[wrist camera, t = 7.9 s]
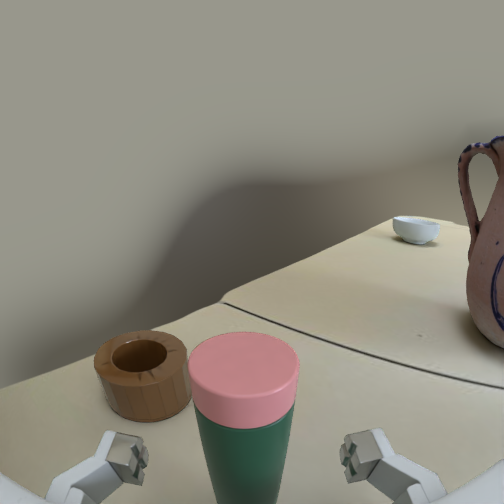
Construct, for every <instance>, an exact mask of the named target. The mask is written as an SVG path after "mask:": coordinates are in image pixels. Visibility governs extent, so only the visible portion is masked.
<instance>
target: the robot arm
mask: <svg viewBox="0 0 504 504" xmlns="http://www.w3.org/2000/svg"><path fill="white" fill-rule="evenodd" d="M344 442H345V443H344V444H343V445H341V448H340V460H341V464H342V465H344V466H345V467H346V469H345V471H344V473H345V476H346V479H347V482H348V484H349V483H353V482H358V481H362V480H366V479H367V481H368V482H369V483H371V484H372V485H373V486H374V487H376V488H377V489H378V490H380V491H381V492H382V493H384V494H385V495H386V496H388V497H389V498H390V499H392V500H393V501H394V502H393V503H392V504H504V459H502V460H500V461H498V462H497V463H495V464H494V465H493V466H491V467H490V468H489V469H487V470H486V471H484V472H483V473H481V474H480V475H478V476H477V477H475V478H474V479H472V480H471V481H469V482H468V483H466V484H464V485H463V486H461V487H459V488H458V489H456V490H454V491H452V492H451V493H449V494H447V492H446V490H445V488H444V486H443V484H442V482H441V481H440V479H439V477H438V475H437V474H436V473H434V472H432V471H430V470H428V469H426V468H424V467H422V466H420V465H418V464H417V463H415V462H413V461H411V460H409V459H407V458H405V457H404V456H402V455H400V454H395V453H394V451H393V449H392V447H391V445H390V443H389V441H388V439H387V437H386V435H385V433H384V431H383V430H382V429H381V428H375V429H371V430H366V431H362V432H358V433H353V434H348V435H346V436H345V438H344ZM148 456H149V455H148V450H147V448H146V447H145V446H144V445H143V440H142V438H141V437H138V436H133V435H128V434H123V433H119V432H114V431H110V430H107V431H106V432H105V433H104V435H103V437H102V439H101V441H100V444H99V446H98V448H97V451H96V453H95V455H94V457H89V458H87V459H86V460H84V461H82V462H81V463H79V464H77V465H76V466H74V467H72V468H71V469H69V470H67V471H65V472H64V473H62V474H60V475H58V476H56V477H55V478H54V479H53V481H52V483H51V485H50V488H49V490H48V492H47V494H46V496H45V499H44V498H42V497H40V496H38V495H36V494H34V493H33V492H31V491H29V490H27V489H26V488H24V487H22V486H21V485H19V484H18V483H16V482H14V481H13V480H11V479H10V478H8V477H7V476H5V475H4V474H2V473H1V472H0V504H99V503H101V502H102V501H103V500H104V499H105V498H107V497H108V496H109V495H110V494H111V493H113V492H114V491H115V490H116V489H117V488H118V487H120V486H121V485H122V484H123V482H125V483H130V484H135V485H140V486H142V484H143V480H144V476H145V473H144V472H143V469H144V468H145V467H147V464H148Z"/></svg>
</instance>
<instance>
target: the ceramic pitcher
mask: <svg viewBox="0 0 504 504" xmlns="http://www.w3.org/2000/svg"><path fill="white" fill-rule="evenodd" d="M478 153H482V154H486V155H487V156H489V157H490V158H491V159H492V161H493V164H494V165H495V168H496V171H497V174H498V177H499V179H498V181H497V184H496V187H495V190H494V193H493V195H492V198H491V201H490V203H489V206H488V208H487V211H486V213H485V215H484V217H483V218H482V220H481V221H479V220H478V216H477V212H476V208H475V205H474V201H473V198H472V194H471V190H470V186H469V174H468V166H469V163H470V161H471V159H472V157H473V156H475V155H476V154H478ZM458 178H459V187H460V193H461V196H462V200H463V204H464V210H465V212H466V217H467V220H468V224H469V228H470V234H471V244H470V248H469V251H468V260H469V266H468V271H467V280H466V293H467V301H468V306H469V309H470V313H471V316H472V318H473V321H474V323H475V324H476V326H477V328H478V329H479V330H480V332H481V333H482V334H483V335H484V336H486V337H487V338H488V339H489V340H490V341H491V342H493V343H494V344H496V345H497V346H500V347H502V348H504V136H496V137H495V138H493V139H492V140H491V142H489V143H476V144H475V143H474V144H471V145H469V146H467V147H466V149H464V151H463V152H462V153H461V155H460V158H459V162H458Z"/></svg>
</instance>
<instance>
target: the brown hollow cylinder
mask: <svg viewBox="0 0 504 504" xmlns="http://www.w3.org/2000/svg"><path fill="white" fill-rule="evenodd" d="M94 368H95V371H96V373H97V376H98V379H99V382H100V384H101V387H102V389H103V392H104V394H105V397H106V399H107V401H108V402H109V405H110V406H111V408H112V409H113V410H114V411H115V412H116V413H117V414H119V415H120V416H122V417H124V418H126V419H129V420H133V421H138V422H155V421H160V420H164V419H167V418H169V417H172V416H173V415H175V414H177V413H178V412H180V411H181V410H182V409H183V408H184V407H185V406H186V405H187V404H188V402H189V400H190V398H191V396H192V391H191V385H190V379H189V373H188V355H187V349H186V347H185V346H184V344H183V342H182V341H181V340H179V339H178V338H176V337H175V336H173V335H170V334H168V333H165V332H159V331H151V330H145V331H135V332H129V333H127V334H126V333H125V334H122V335H119V336H116V337H114V338H112V339H110V340H109V341H107V342H105V343H104V344H103V345H102V346H101V347H100V348H99V349H98V351H97V353H96V355H95V357H94Z"/></svg>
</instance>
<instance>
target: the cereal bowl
mask: <svg viewBox="0 0 504 504" xmlns="http://www.w3.org/2000/svg"><path fill="white" fill-rule="evenodd" d="M393 229H394V231H395V233H396V234H397V235H399V236H400V237H402V238H403V240H404V241H406V242H409V243H413V244H425V243H426V242H428V241H432V240H434V239H435V238H436V237H437V236H438V234H439V230H440V224H438V223H435V222H431V221H426V220H421V219H413V218H404V217H394V218H393Z"/></svg>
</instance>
